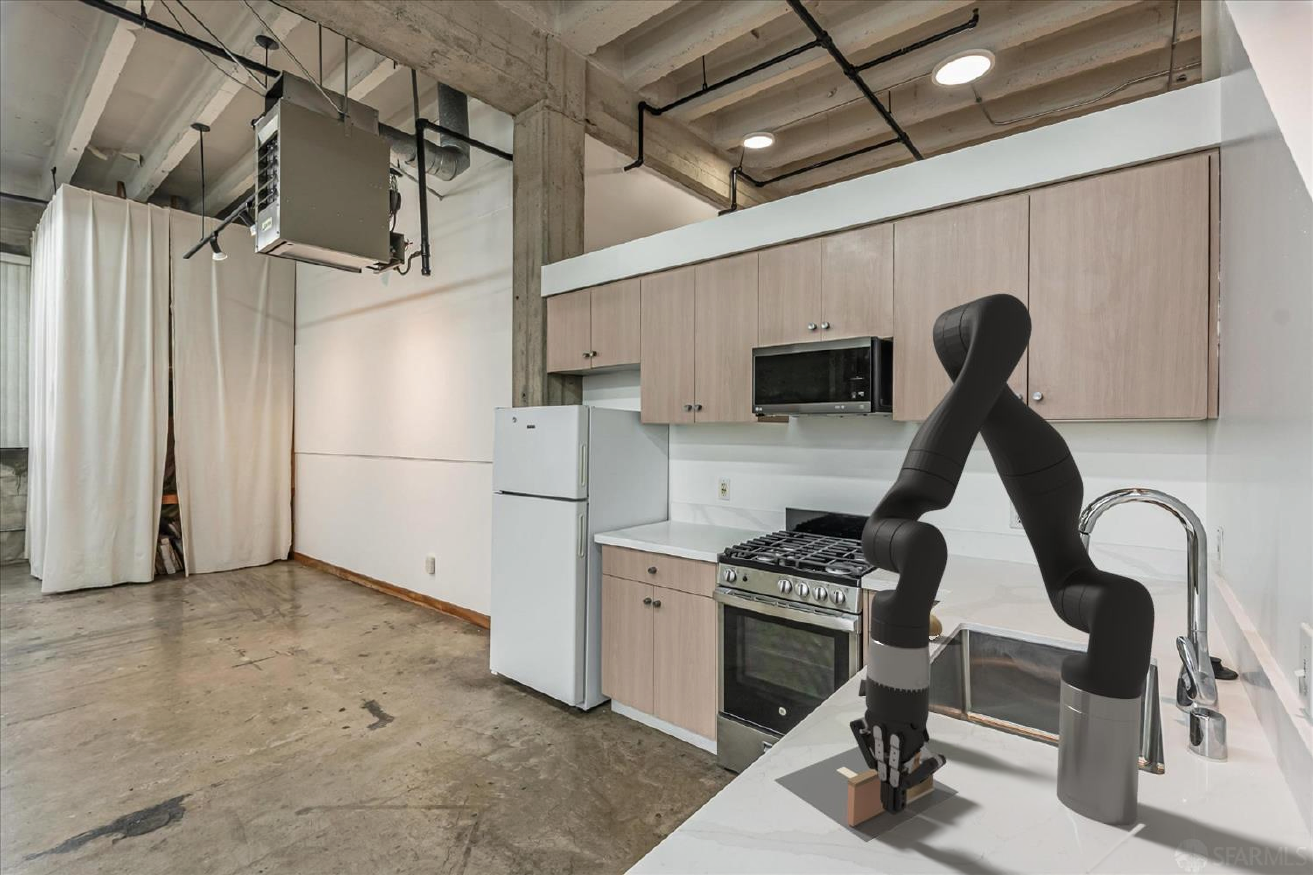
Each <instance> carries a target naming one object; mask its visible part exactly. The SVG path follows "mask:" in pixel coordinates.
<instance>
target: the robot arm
mask: <svg viewBox="0 0 1313 875" xmlns="http://www.w3.org/2000/svg"><path fill="white" fill-rule="evenodd" d="M1032 328H1033V325H1032V318H1031V314H1030V312H1029V310H1028V307H1027V306H1026V305H1025V303H1024V302H1023V301H1022V300H1020V298H1018V297H1016V296H1014V295H1012V294H1009V293H995V294H991V295H987V296H983V297H981V298H977V299H975V300H972V301H969V302H967V303H964V304H961V305H958V306H956V307H953V308H951V309H947V310H946V311H944V312H942V313H941V314H940V315H939V316H938V317H937V318H936V320H935V322H934V324H933V328H932V342H933V348H934V351H935V353H936V355H937V357H938V360H939V361H940V363H941V365H942V367H943V368H944V371H945V372H946V373H947V375H948V376H947V377H948V378H949V379H950V381H951V382H952V386H951V388H950V389H949V390H948V391H947V392H946V394H945V395H944V397H943V399H942V400H941V401H940V402H939V403H938V404H937V405H936V407H935V408H934V409H933V410H932V412H931V413H930V414H929V415H928V416H927V418H926V419H925V420H924V421H923V423H922V424H921V426H920V427H919V429H918V430H917V432H916V433H915V435H914V437H913V438H912V441H911V443H910V445H909V448H908V450H907V452H906V455H905V458H904V460H903V463H902V465H901V468H900V471H899V474H898V476H897V479H896V480H895V482H893V485H892V486H891V487H890V488H889V490H888V491H887V492H886V493H885V494H884V496H883V497H882V499H881V500H880V501H879V503H878V504H877V505H876V507H875V509H874V510H873V511H872V513H871V514H870V515H869V517H868V519H867V521H866V523H865V524H864V527H863V531H862V533H861V539H860V540H861V552H862V554H863V557H864V559H865V560H866V561H867V563H869V564H870V565H871V566H872V567H874V568H876V569H877V568H878V569H881V570H884V571H888V572H891V573H894V574H897V575H898V574H899V576H898V578H899V579H898V582H897V584H896V587H895V589H882V590H880V591H878V592H876V593H875V594H874V595H873V597H872V600H871V605H870V606H871V608H870V632H869V634H870V636H869V642H868V648H867V656H866V675H867V676H866V675H865V676H866V677H865V680H866V697H865V706H866V710H865V712H864V717H860V718H856V719H853V721H852V720H851V721H850V722H849V728H850V730H851V732H852V735H853V737H854V739H855V741H856V743H857V745H858V746H859V748H860V750H861V752H862V754H863V756H864V759H865V761H866V763H867V765H868V767H869V768H870V769H875V770H876V771H877V772H878V775H879V778H880V779H881V788H880V790H881V791H880V799H881V803H883V809H884V810H886V811H888V812H889V813H891V814H893V815H896V814H898V813H899V812H901V811H902V810H904V809H905V807H906V798H907V789H911V788H913V787H915V786H917V785H919V784H921V783H922V782H924V781H925V780H926V779H927V778H929V777H930V776H931V775H932V774H933V775H934V773H936V772H937V771H939V770H940V769H942V767H944V766H945V765H946V764H947V758H946V757H945V755H944V754H943V753H938V754H937V752H936V750H935V749H934V748H933V747H932V745H931V744H930V734H929V732H928V728H927V723H928V720H929V719H928V718H929V714H930V709H929V708H930V691H931V689H930V686H931V655H930V640H929V635H930V614H932V613H931V612H932V608H933V605H934V603H935V600H936V597H937V594H938V590H939V588H940V585H941V583H942V582H941V581H942V579H943V576H944V574H945V570H946V567H947V564H948V556H949V555H948V552H949V551H948V546H947V541H946V539H945V537H944V534H943V533H942V532H941V530H940V529H939V528H938V527H937V526H935V525H933V524H931V523H929V522H925V521H920V518H921V517H922V516H923V515H924V514H926V513H929V512H933V511H940V510H941V511H942V510H944V509H947V507H949V506H950V504H951V503H952V501H953V498H954V496H955V493H956V490H957V488H958V485H959V482H960V479H961V477H962V475H963V472H964V468H965V466H966V463H967V461H968V458H969V456H970V454H971V450H972V448H973V445H974V443H975V441H976V439H977V437H978V434H980V435H981V437H982V440H983V441H984V443H985V445H986V447H987V450H988V452H989V454H990V456H991V459H992V461H993V464H994V467H995V469H996V471H997V473H998V476H999V478H1000V481H1001V482H1002V485H1003V486H1004V489H1005V491H1006V493H1007V496H1008V498H1009V499H1010V502H1011V504H1012V505H1013V507H1014V509H1015V512H1016V514H1017V516H1018V518H1019V521H1020V522H1021V523H1020V524H1021V525H1022V528H1023V530H1024V533H1025V534H1026V537H1027V539H1028V541H1029V543H1030V546H1031V549H1032V551H1033V553H1034V556H1035V559H1036V562H1037V565H1038V568H1039V572H1040V574H1041V578H1042V581H1043V584H1044V587H1045V590H1046V593H1047V596H1048V600H1049V602H1050V604H1051V607H1052V608H1053V610H1054V612H1055V614H1056V615H1057V617H1058V618H1059V619H1060V620H1062V621H1063V622H1064V624H1066V625H1067V626H1070V628H1073V629H1076V630H1078V631H1081V632H1083V633H1085V634H1088V644H1087V650H1086V653H1085V654H1071V655H1067V656H1066V657H1064V658H1063V659H1062V662H1061V669H1060V670H1061V671H1060V693H1059V694H1060V695H1059V700H1060V701H1059V720H1058V721H1059V723H1058V724H1059V725H1058V748H1057V750H1058V751H1057V752H1058V753H1057V754H1058V755H1057V774H1056V776H1057V777H1056V796H1057V798H1058V800H1059V802H1060V803H1061V804H1062V805H1064V806H1065V807H1066V808H1068V810H1070V811H1072V812H1074V813H1076V814H1077V815H1080V816H1082V817H1084V818H1086V819H1089V820H1091V821H1095V822H1098V823H1102V824H1104V825H1105V824H1107V825H1110V826H1111V825H1112V826H1120V827H1121V826H1123V827H1125V826H1130V825H1133V824H1134V823H1136V822H1137V816H1138V792H1139V772H1140V771H1139V770H1140V769H1139V768H1140V766H1139V765H1140V742H1141V740H1140V738H1141V737H1140V736H1141V720H1142V719H1141V715H1142V714H1141V711H1142V710H1141V709H1142V693H1143V692H1142V691H1143V690H1142V689H1143V684H1144V682H1145V680H1146V678H1147V676H1148V674H1149V670H1150V666H1151V660H1152V659H1151V658H1152V648H1153V641H1154V640H1153V638H1154V630H1155V620H1156V619H1155V605H1154V601H1153V598H1152V594H1151V593H1150V591H1149V590H1148V588H1147V587H1146V586H1145V585H1143V584H1142V583H1141V582H1140V581H1138V580H1136V579H1134V578H1131V577H1127V576H1125V575H1124V576H1123V575H1120V574H1117V573H1114V572H1113V573H1112V572H1110V571H1107V570H1106V571H1105V570H1101V569H1099V568H1098V567H1097V566H1096V565H1095V563H1094V562H1093V560H1092V558H1091V557H1090V555H1089V553H1088V551H1087V549H1086V547H1085V543H1084V541H1083V539H1082V537H1081V534H1080V527H1079V523H1080V516H1081V513H1082V506H1083V503H1084V502H1083V501H1084V495H1085V494H1084V493H1085V492H1084V490H1085V488H1084V482H1083V479H1082V476H1081V473H1080V470H1079V468H1078V465H1077V463H1076V461H1075V458H1074V456H1073V454H1072V452H1071V450H1070V448H1069V445H1068V444H1067V442H1066V440H1065V438H1064V437H1063V436H1062V435H1061V434H1060V433H1059V431H1058V430H1056V428H1054V426H1052V424H1050V423H1049V421H1047V420H1046V419H1045V418H1044V417H1042V415H1040V414H1038V412H1036V411H1035V410H1034V409H1033V408H1032V407H1030V406H1028V404H1026V403H1025V402H1024V401H1023V400H1022V399H1021V398H1020V397H1019V396H1018V395H1017V394H1016V393H1015V392H1014V391H1013V389H1012V388H1011V386H1010V385H1009V384H1008V381H1009V380H1010V377H1011V376H1012V374H1013V373H1014V371H1015V370H1016V367H1017V366H1018V364H1019V363H1020V360H1021V359H1022V357H1023V355H1024V354H1025V351H1026V349H1027V347H1028V345H1029V342H1030V340H1031V335H1032ZM870 748H871V750H872V752H873V754H874V756H875V757H874V756H873V754H872V752H871V750H870ZM933 749H934V750H935V751H934V750H933ZM920 751H921V756H920V760H919V763H920V764H921V765H920V766H918V767H917V768H916V769H915V770H914V771H912V772H911V773H910V771H911V766H912V765H913V763H914V757H915V756H916V755H917V754H918V753H919V752H920Z"/></svg>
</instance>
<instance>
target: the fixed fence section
mask: <svg viewBox="0 0 1313 875" xmlns="http://www.w3.org/2000/svg"><path fill="white" fill-rule="evenodd" d="M933 750H934V751H935V752H936V749H934V748H933ZM920 756H921V751H920V752H919V753H918V754H917V755H916V756H915V757H914V763H913V765H912V766H911V771H910V773H911V772H912V771H914V770H915V769H916V768H917V767H918V766H920V765H921V764H920V763H919V760H920ZM933 779H934V774H932V775H931V776H930V777H929V778H927V779H926V780H925V781H924V782H922V783H921V784H919V785H917V786H915V787H913V788H911V789H907V798H906V801H908V800H910V799H911V798H913V797H915V796H917V795H919V794H921V793H923V792H925V791H927V790H929V789H931V788H933Z"/></svg>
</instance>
